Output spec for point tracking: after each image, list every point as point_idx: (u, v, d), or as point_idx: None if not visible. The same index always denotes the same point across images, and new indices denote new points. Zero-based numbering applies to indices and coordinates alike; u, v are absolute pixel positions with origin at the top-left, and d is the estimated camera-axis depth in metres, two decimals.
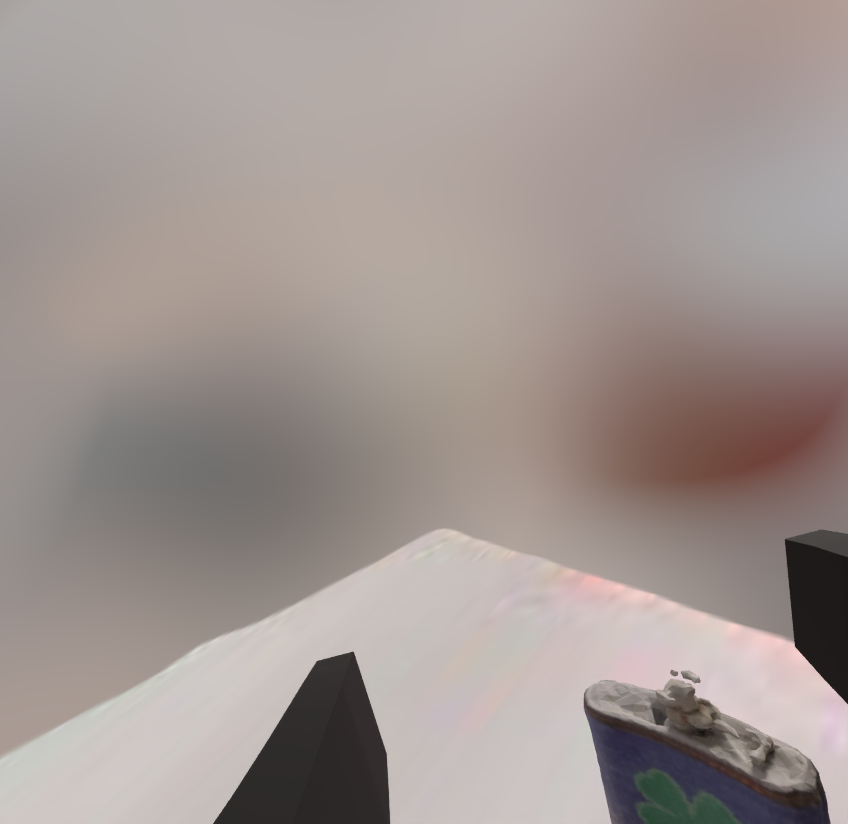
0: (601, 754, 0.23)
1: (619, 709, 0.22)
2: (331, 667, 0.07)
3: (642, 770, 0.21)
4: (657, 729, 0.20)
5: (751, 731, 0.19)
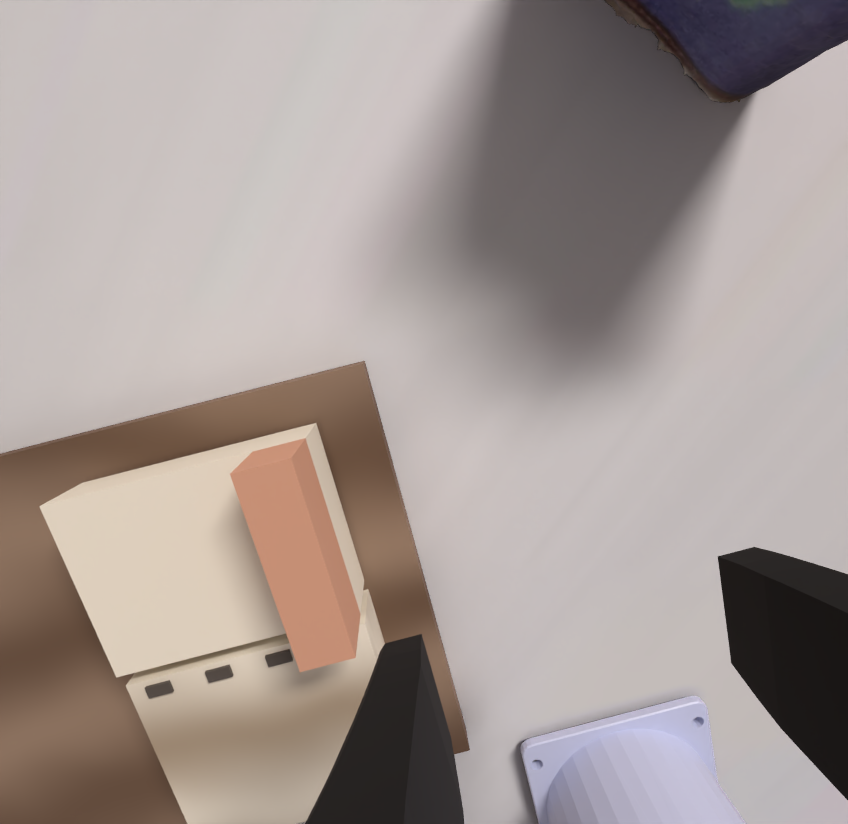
0: None
1: None
2: (402, 648, 0.07)
3: None
4: None
5: None
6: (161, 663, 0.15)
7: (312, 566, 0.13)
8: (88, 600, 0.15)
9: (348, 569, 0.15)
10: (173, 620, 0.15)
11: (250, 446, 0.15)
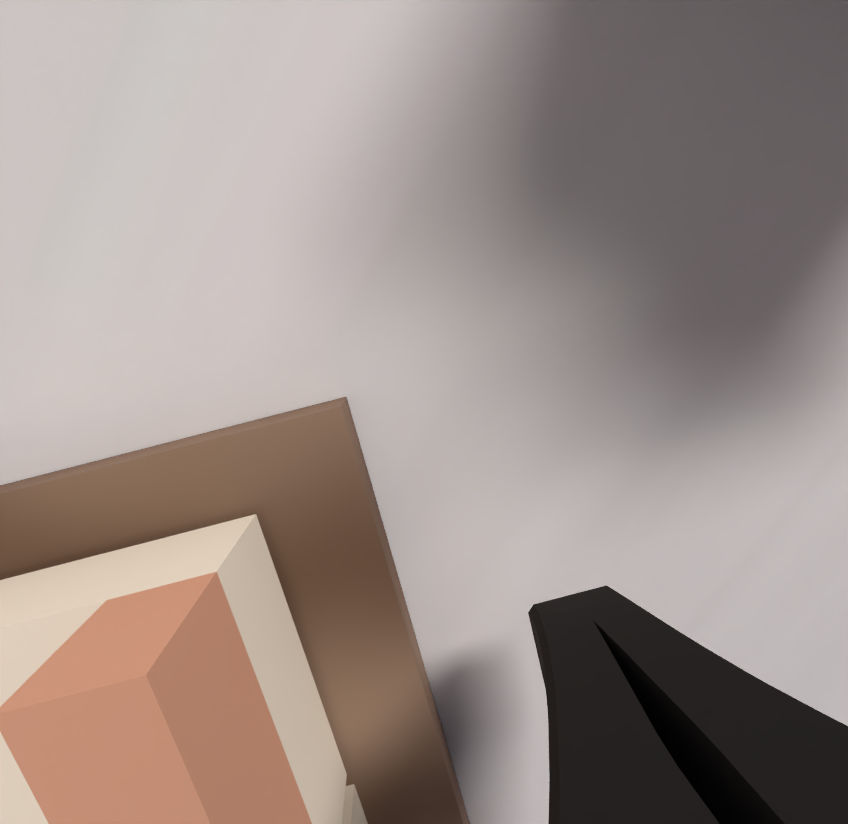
0: None
1: None
2: (559, 607, 0.07)
3: None
4: None
5: None
6: None
7: None
8: None
9: (312, 802, 0.08)
10: None
11: (118, 573, 0.08)
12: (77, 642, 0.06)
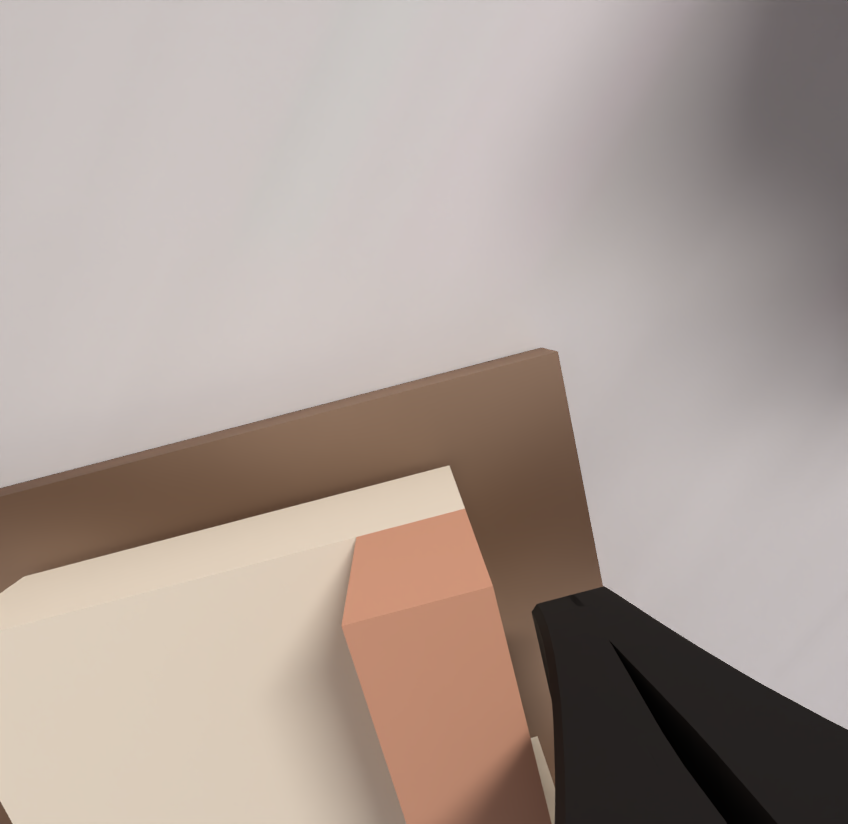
0: None
1: None
2: (562, 607, 0.07)
3: None
4: None
5: None
6: None
7: (520, 819, 0.06)
8: (26, 822, 0.08)
9: None
10: None
11: (341, 517, 0.08)
12: (367, 568, 0.06)
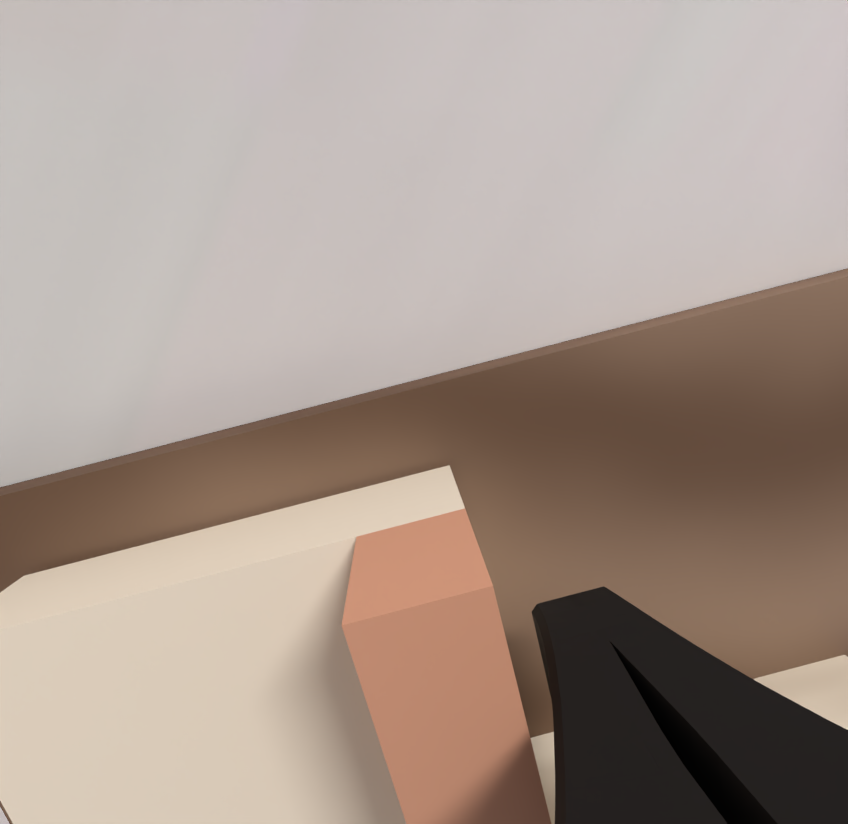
0: None
1: None
2: (563, 607, 0.07)
3: None
4: None
5: None
6: None
7: (520, 819, 0.06)
8: (26, 821, 0.08)
9: None
10: None
11: (341, 517, 0.08)
12: (367, 568, 0.06)
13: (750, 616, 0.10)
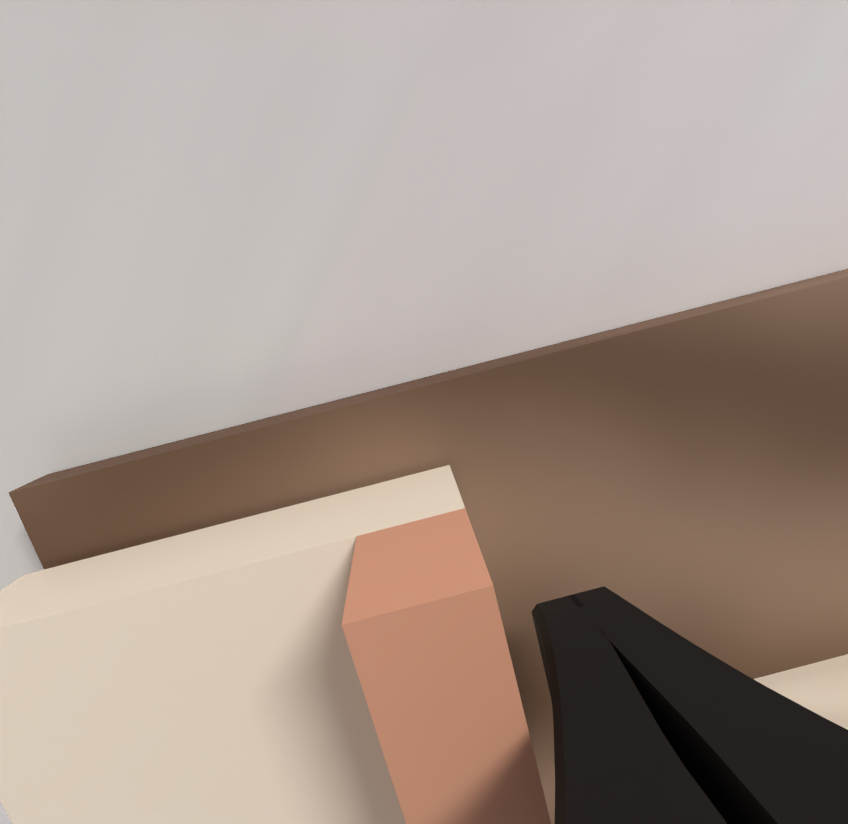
0: None
1: None
2: (563, 607, 0.07)
3: None
4: None
5: None
6: None
7: (519, 818, 0.06)
8: (26, 821, 0.08)
9: None
10: None
11: (341, 517, 0.08)
12: (367, 567, 0.06)
13: None
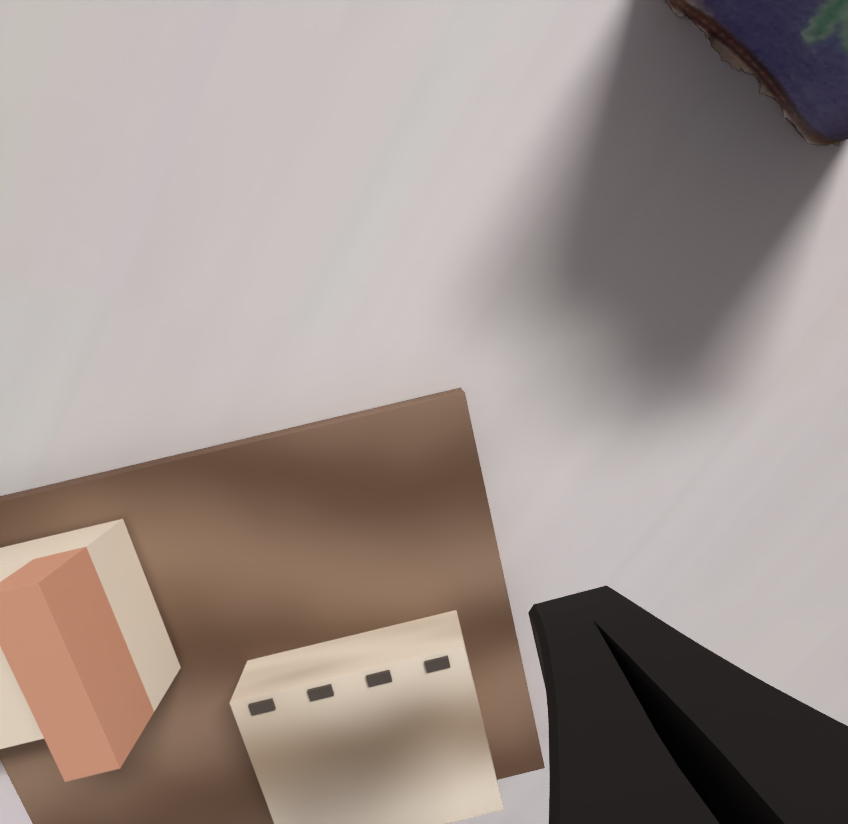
0: None
1: None
2: (559, 607, 0.07)
3: None
4: None
5: None
6: None
7: (68, 683, 0.13)
8: None
9: (142, 668, 0.16)
10: None
11: (43, 548, 0.15)
12: (15, 574, 0.14)
13: (395, 586, 0.18)
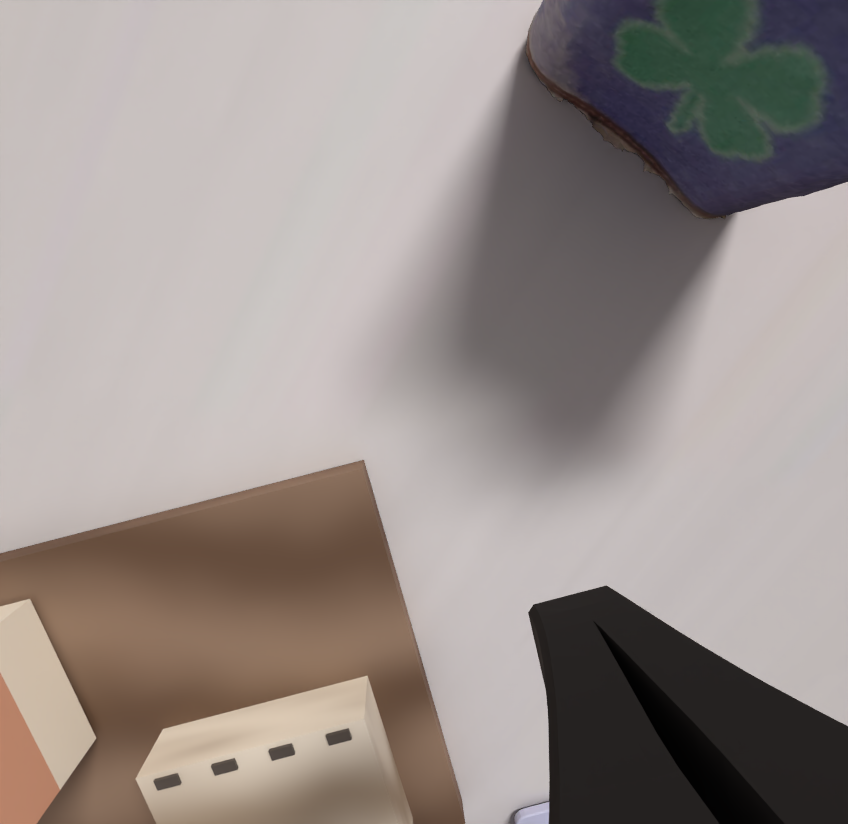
0: None
1: None
2: (559, 608, 0.07)
3: None
4: None
5: None
6: None
7: None
8: None
9: (47, 747, 0.16)
10: None
11: None
12: None
13: (305, 654, 0.18)
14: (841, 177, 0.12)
